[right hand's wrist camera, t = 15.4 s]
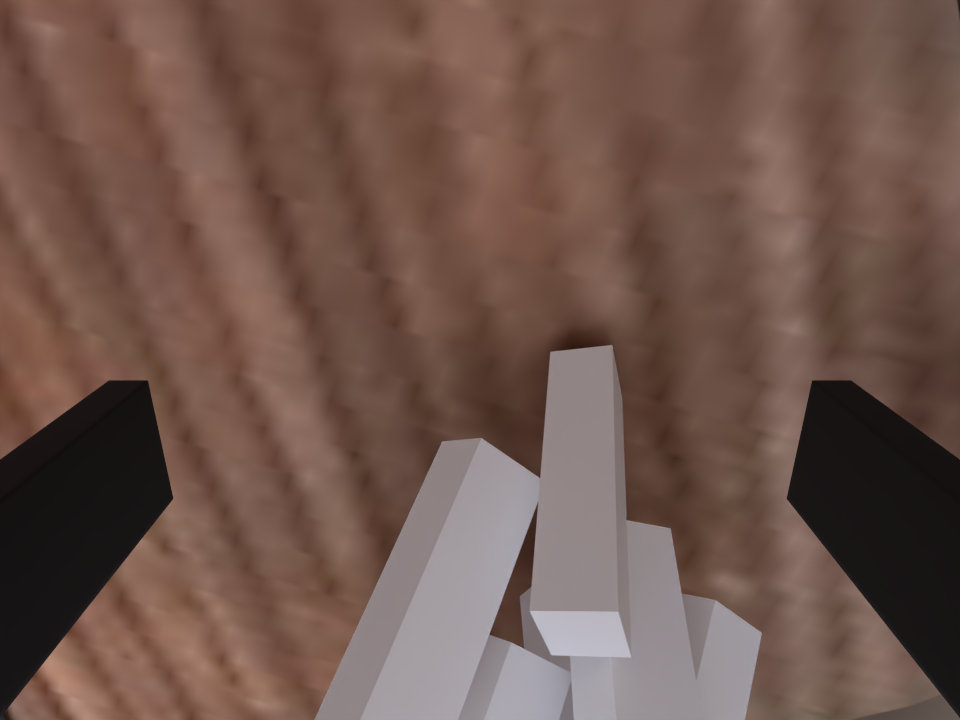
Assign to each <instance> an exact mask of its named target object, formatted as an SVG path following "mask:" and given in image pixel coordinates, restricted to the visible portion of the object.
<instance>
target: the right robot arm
mask: <svg viewBox="0 0 960 720" xmlns="http://www.w3.org/2000/svg"><path fill="white" fill-rule="evenodd" d="M172 500H173V495H172V491H171V486H170V481H169V477H168V472H167V467H166V463H165V458H164V454H163V449H162V444H161V440H160V435H159V430H158V426H157V421H156V417H155V412H154V407H153V403H152V398H151V393H150V389H149V384H148V381H108V382H106V383H105V384H104V385H102V386H101V387H99V388H98V389H97V390H95V391H94V392H93V393H91V394H90V395H88V396H87V397H86V398H84V399H83V400H82V401H80V402H79V403H77V404H76V405H75V406H73V407H72V408H71V409H69V410H68V411H66V412H65V413H64V414H62V415H61V416H60V417H58V418H57V419H55V420H54V421H53V422H51V423H50V424H49V425H47V426H46V427H44V428H43V429H42V430H40V431H39V432H38V433H36V434H35V435H33V436H32V437H31V438H29V439H28V440H27V441H25V442H24V443H23V444H21V445H20V446H18V447H17V448H16V449H14V450H13V451H12V452H10V453H9V454H7V455H6V456H5V457H3V458H2V459H1V460H0V720H6V718H5V715H4V712H5V711H6V710H7V708H8V707H9V706H10V705H11V703H12V702H13V701H14V700H15V698H16V697H17V696H18V694H19V693H20V692H21V691H22V689H23V688H24V687H25V686H26V684H27V683H28V682H29V681H30V679H31V678H32V677H33V675H34V674H35V673H36V672H37V670H38V669H39V668H40V667H41V665H42V664H43V663H44V662H45V660H46V659H47V658H48V656H49V655H50V654H51V653H52V651H53V650H54V649H55V648H56V646H57V645H58V644H59V643H60V641H61V640H62V639H63V638H64V636H65V635H66V634H67V632H68V631H69V630H70V629H71V627H72V626H73V625H74V624H75V622H76V621H77V620H78V619H79V617H80V616H81V615H82V613H83V612H84V611H85V610H86V608H87V607H88V606H89V605H90V603H91V602H92V601H93V600H94V598H95V597H96V596H97V594H98V593H99V592H100V591H101V589H102V588H103V587H104V586H105V584H106V583H107V582H108V581H109V579H110V578H111V577H112V576H113V574H114V573H115V572H116V570H117V569H118V568H119V567H120V565H121V564H122V563H123V562H124V560H125V559H126V558H127V557H128V555H129V554H130V553H131V551H132V550H133V549H134V548H135V546H136V545H137V544H138V543H139V541H140V540H141V539H142V538H143V536H144V535H145V534H146V532H147V531H148V530H149V529H150V527H151V526H152V525H153V524H154V522H155V521H156V520H157V519H158V517H159V516H160V515H161V514H162V512H163V511H164V510H165V508H166V507H167V506H168V505H169V503H170V502H171V501H172ZM787 500H788V501H789V502H790V503H791V505H792V506H793V507H794V508H795V510H796V511H797V512H798V514H799V515H800V516H801V517H802V519H803V520H804V521H805V522H806V524H807V525H808V526H809V527H810V529H811V530H812V531H813V532H814V534H815V535H816V536H817V538H818V539H819V540H820V541H821V543H822V544H823V545H824V546H825V548H826V549H827V550H828V551H829V553H830V554H831V555H832V557H833V558H834V559H835V560H836V562H837V563H838V564H839V565H840V567H841V568H842V569H843V570H844V572H845V573H846V574H847V576H848V577H849V578H850V579H851V581H852V582H853V583H854V584H855V586H856V587H857V588H858V589H859V591H860V592H861V593H862V594H863V596H864V597H865V598H866V600H867V601H868V602H869V603H870V605H871V606H872V607H873V608H874V610H875V611H876V612H877V613H878V615H879V616H880V617H881V619H882V620H883V621H884V622H885V624H886V625H887V626H888V627H889V629H890V630H891V631H892V632H893V634H894V635H895V636H896V638H897V639H898V640H899V641H900V643H901V644H902V645H903V646H904V648H905V649H906V650H907V651H908V653H909V654H910V655H911V656H912V658H913V659H914V660H915V662H916V663H917V664H918V665H919V667H920V668H921V669H922V670H923V672H924V673H925V674H926V675H927V677H928V678H929V679H930V681H931V682H932V683H933V684H934V686H935V687H936V688H937V689H938V691H939V692H940V693H941V694H942V696H943V697H944V698H945V699H946V701H947V702H948V703H949V705H950V706H951V707H952V708H953V710H954V711H955V712H956V713H957V715H958V716H959V717H960V460H959V459H958V458H957V457H955V456H954V455H953V454H951V453H950V452H948V451H947V450H946V449H944V448H943V447H942V446H940V445H939V444H937V443H936V442H935V441H933V440H932V439H931V438H929V437H928V436H927V435H925V434H924V433H922V432H921V431H920V430H918V429H917V428H916V427H914V426H913V425H911V424H910V423H909V422H907V421H906V420H905V419H903V418H902V417H900V416H899V415H898V414H896V413H895V412H894V411H892V410H891V409H889V408H888V407H887V406H885V405H884V404H883V403H881V402H880V401H878V400H877V399H876V398H874V397H873V396H872V395H870V394H869V393H867V392H866V391H865V390H863V389H862V388H861V387H859V386H858V385H856V384H855V383H854V382H852V381H812V384H811V389H810V393H809V398H808V403H807V407H806V412H805V417H804V421H803V426H802V430H801V435H800V440H799V444H798V449H797V454H796V458H795V463H794V467H793V472H792V477H791V481H790V486H789V491H788V495H787Z"/></svg>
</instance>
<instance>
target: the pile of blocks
mask: <svg viewBox="0 0 960 720" xmlns="http://www.w3.org/2000/svg"><path fill="white" fill-rule="evenodd" d="M537 503H538V512H537V524H536V537H535V549H534V562H533V574H532V586H531V587H530V588H529V589H528V590H527V591H525V592H524V593H523V594H522V595H521V596H520V606H521V617H522V629H523V641H524V649H523V648H521V647H519V646H517V645H516V644H514V643H512V642H509V641H506V640H503V639H500V638H497V637H494V636H491V635H489V634H490V631H491V628H492V626H493V623H494V620H495V618H496V615H497V612H498V609H499V607H500V604H501V601H502V598H503V596H504V593H505V590H506V588H507V585H508V582H509V579H510V577H511V574H512V571H513V568H514V566H515V563H516V560H517V558H518V555H519V552H520V549H521V547H522V544H523V541H524V538H525V536H526V533H527V530H528V528H529V525H530V522H531V519H532V517H533V514H534V511H535V509H536V506H537ZM761 635H762V633H761V632H760V631H758V630H757V629H756V628H754V627H753V626H751V625H750V624H748V623H747V622H746V621H744V620H743V619H741V618H740V617H739V616H737V615H736V614H734V613H733V612H732V611H730V610H729V609H727V608H726V607H724V606H723V605H722V604H720V603H719V602H717V601H716V600H713V599H707V598H702V597H697V596H692V595H687V594H682V593H681V587H680V581H679V575H678V569H677V563H676V557H675V552H674V546H673V540H672V534H671V528H666V527H661V526H655V525H650V524H645V523H639V522H634V521H629V520H627V515H626V487H625V459H624V431H623V403H622V394H621V388H620V383H619V378H618V372H617V367H616V362H615V356H614V351H613V346H612V345H608V346H599V347H590V348H581V349H572V350H563V351H554V352H550V362H549V375H548V387H547V400H546V412H545V425H544V437H543V450H542V462H541V475H540V478H539V477H538V476H536V475H535V474H533V473H532V472H530V471H529V470H527V469H526V468H524V467H523V466H522V465H520V464H519V463H517V462H516V461H514V460H513V459H511V458H510V457H508V456H507V455H505V454H504V453H503V452H501V451H500V450H498V449H497V448H495V447H494V446H492V445H491V444H489V443H488V442H487V441H485V440H484V439H482V438H476V439H465V440H453V441H442V443H441V445H440V447H439V449H438V452H437V454H436V456H435V458H434V460H433V463H432V465H431V467H430V469H429V471H428V473H427V476H426V478H425V480H424V482H423V484H422V486H421V489H420V491H419V493H418V495H417V497H416V500H415V502H414V504H413V506H412V508H411V510H410V513H409V515H408V517H407V519H406V521H405V524H404V526H403V528H402V530H401V532H400V534H399V537H398V539H397V541H396V543H395V545H394V548H393V550H392V552H391V554H390V556H389V558H388V561H387V563H386V565H385V567H384V569H383V571H382V574H381V576H380V578H379V580H378V582H377V585H376V587H375V589H374V591H373V593H372V595H371V598H370V600H369V602H368V604H367V606H366V609H365V611H364V613H363V615H362V617H361V619H360V622H359V624H358V626H357V628H356V630H355V633H354V635H353V637H352V639H351V641H350V643H349V646H348V648H347V650H346V652H345V654H344V657H343V659H342V661H341V663H340V665H339V667H338V670H337V672H336V674H335V676H334V678H333V680H332V683H331V685H330V687H329V689H328V691H327V694H326V696H325V698H324V700H323V702H322V704H321V707H320V709H319V711H318V713H317V715H316V718H315V720H745V716H746V711H747V706H748V701H749V696H750V690H751V685H752V680H753V675H754V670H755V665H756V660H757V655H758V650H759V645H760V640H761Z"/></svg>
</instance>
